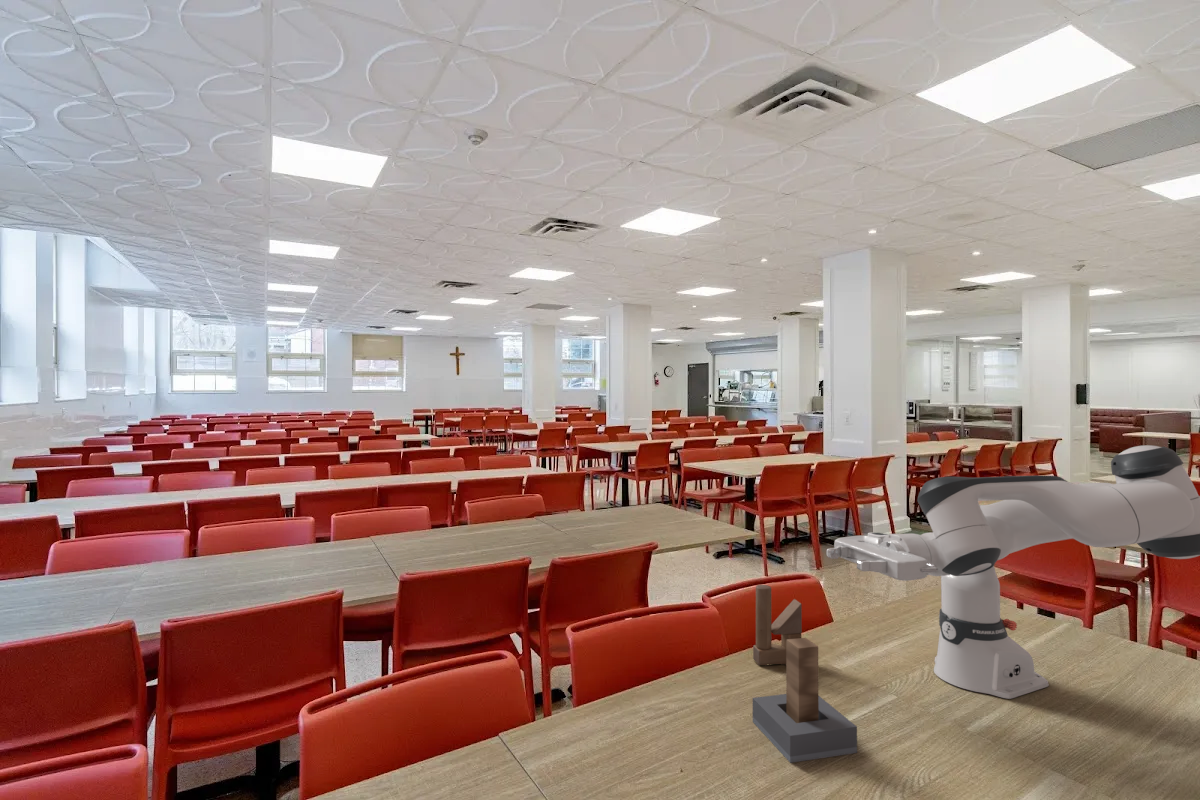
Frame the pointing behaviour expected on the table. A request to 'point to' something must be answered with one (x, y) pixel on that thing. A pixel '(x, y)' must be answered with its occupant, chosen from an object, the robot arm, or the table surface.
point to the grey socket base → (804, 730)
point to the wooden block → (774, 628)
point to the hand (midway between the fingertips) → (843, 559)
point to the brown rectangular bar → (802, 680)
